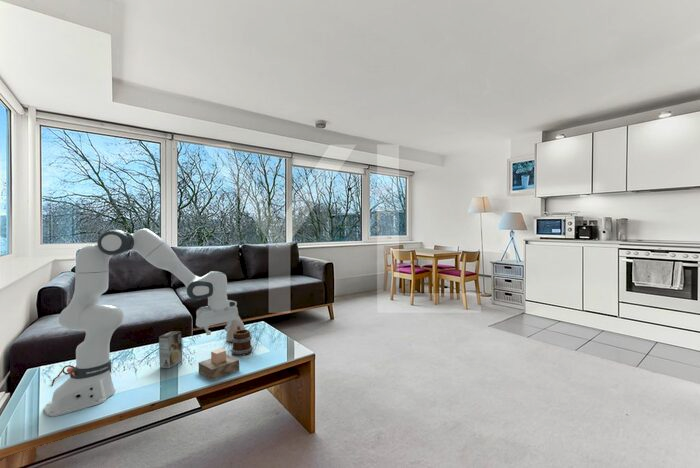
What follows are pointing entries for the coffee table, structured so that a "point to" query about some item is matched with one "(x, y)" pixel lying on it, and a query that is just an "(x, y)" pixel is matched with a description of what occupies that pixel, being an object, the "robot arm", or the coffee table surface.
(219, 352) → the cube
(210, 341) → the coffee table surface
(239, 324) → the sculpture
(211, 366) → the block
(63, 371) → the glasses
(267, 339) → the coffee table surface
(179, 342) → the coffee box
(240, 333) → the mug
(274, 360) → the coffee table surface
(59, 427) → the coffee table surface
